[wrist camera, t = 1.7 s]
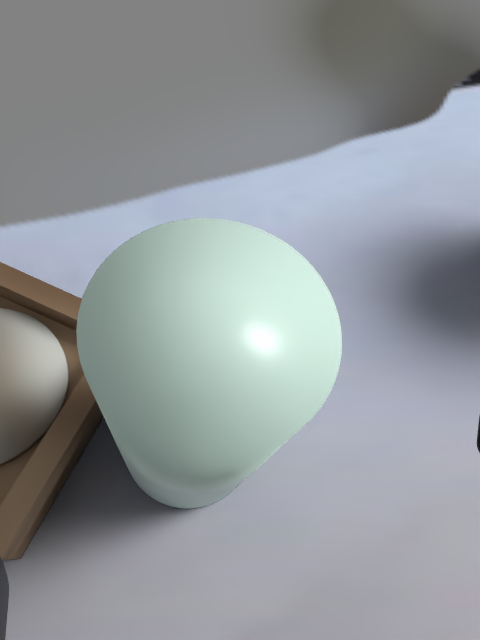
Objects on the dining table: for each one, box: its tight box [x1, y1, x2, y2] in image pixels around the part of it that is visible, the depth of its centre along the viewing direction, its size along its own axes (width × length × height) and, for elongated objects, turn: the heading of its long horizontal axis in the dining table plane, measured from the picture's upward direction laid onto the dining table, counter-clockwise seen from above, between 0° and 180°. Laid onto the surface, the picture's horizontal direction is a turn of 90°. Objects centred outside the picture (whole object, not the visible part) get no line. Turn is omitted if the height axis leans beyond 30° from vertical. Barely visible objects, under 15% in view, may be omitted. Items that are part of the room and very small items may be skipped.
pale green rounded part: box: [76, 218, 342, 509], centre depth 16 cm, size 6×6×12 cm
